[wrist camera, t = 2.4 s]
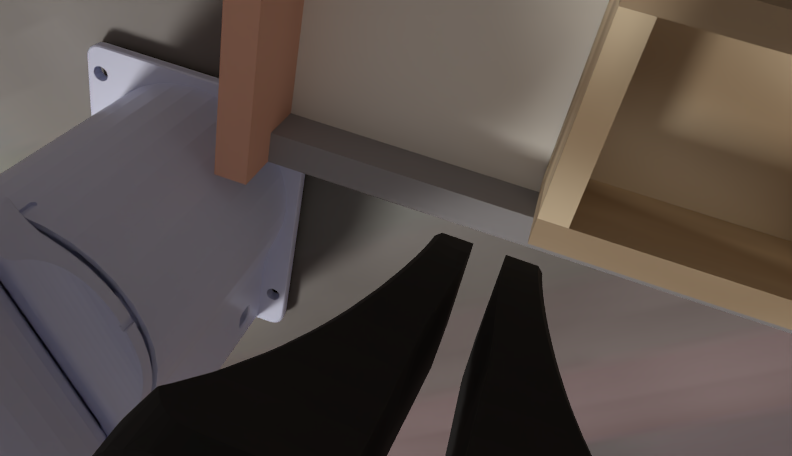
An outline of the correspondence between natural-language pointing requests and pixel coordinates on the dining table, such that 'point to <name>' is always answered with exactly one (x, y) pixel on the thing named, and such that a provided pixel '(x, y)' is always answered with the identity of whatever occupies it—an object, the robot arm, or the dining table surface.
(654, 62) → the crate
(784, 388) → the dining table surface
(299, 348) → the robot arm
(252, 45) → the crate bay
